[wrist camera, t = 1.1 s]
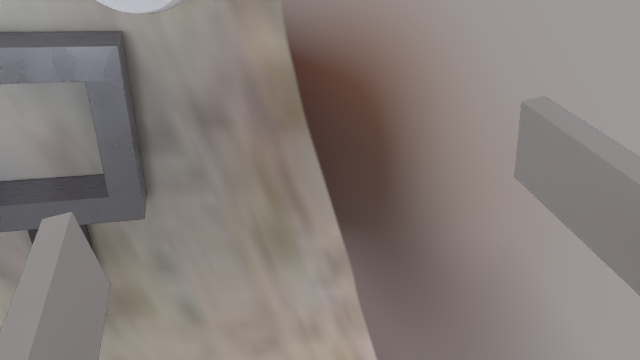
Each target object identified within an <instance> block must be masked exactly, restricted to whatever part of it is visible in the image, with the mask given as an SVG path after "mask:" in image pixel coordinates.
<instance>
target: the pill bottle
mask: <svg viewBox="0 0 640 360" xmlns="http://www.w3.org/2000/svg"><path fill="white" fill-rule="evenodd" d="M96 1H98V2H99V3H101V4H103V5H105V6H106V7H109V8H111V9H114V10H116V11H120V12H124V13H132V14H151V13H157V12H161V11H165V10H167V9H170V8H172V7H174V6H176V5H177V4H179V3H180V2H182V1H183V0H96Z"/></svg>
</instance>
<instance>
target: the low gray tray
mask: <svg viewBox="0 0 640 360" xmlns="http://www.w3.org/2000/svg"><path fill="white" fill-rule="evenodd" d="M81 81H86V86H87V91H88V96H89V101H90V106H91V111H92V116H93V121H94V126H95V131H96V136H97V141H98V146H99V151H100V156H101V161H102V166H103V171H104V175H90V176H75V177H61V178H47V179H33V180H19V181H5V182H0V232H8V231H19V230H28V232H29V235H30V239H31V242H32V245H33V242H34V240H35V237H36V234H37V232H38V229H39V226H40V224H41V221H42V219H44V218H48V217H52V216H57V215H61V214H65V213H69V212H72V213H73V215H74V217H75V219H76V221H77V222H78V224H79V226H80V228H81V230H82V232H83V234H84V236H85V237H86V239H87V241H88V243H89V245H90V247H91V249H92V246H91V242H90V238H89V233H88V229H87V225H86V224H95V223H106V222H117V221H128V220H139V219H145V209H146V198H147V193H146V187H145V180H144V174H143V167H142V160H141V154H140V147H139V141H138V134H137V127H136V121H135V114H134V108H133V101H132V94H131V88H130V81H129V75H128V68H127V61H126V55H125V48H124V42H123V35H122V31H80V32H0V84H15V83H48V82H81ZM92 251H93V250H92Z"/></svg>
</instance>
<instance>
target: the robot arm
mask: <svg viewBox="0 0 640 360" xmlns="http://www.w3.org/2000/svg"><path fill="white" fill-rule="evenodd" d="M514 177H515V178H516V179H517V180H518V181H519V182H520V183H521V184H522V185H523V186H524V187H525V188H526V189H527V190H528V191H529V192H530V193H531V194H533V195H534V196H535V197H536V198H537V199H538V200H539V201H540V202H541V203H542V204H543V205H544V206H545V207H546V208H547V209H548V210H550V211H551V212H552V213H553V214H554V215H555V216H556V217H557V218H558V219H559V220H560V221H561V222H562V223H563V224H564V225H565V226H567V227H568V228H569V229H570V230H571V231H572V232H573V233H574V234H575V235H576V236H577V237H578V238H579V239H580V240H581V241H582V242H583V243H585V244H586V245H587V246H588V247H589V248H590V249H591V250H592V251H593V252H594V253H595V254H596V255H597V256H598V257H599V258H600V259H601V260H602V261H604V262H605V263H606V264H607V265H608V266H609V267H610V268H611V269H612V270H613V271H614V272H615V273H616V274H617V275H618V276H619V277H621V278H622V279H623V280H624V281H625V282H626V283H627V284H628V285H629V286H630V287H631V288H632V289H633V290H634V291H635V292H636V293H638V294H639V295H640V156H638V155H637V154H635V153H634V152H632V151H630V150H629V149H627V148H626V147H624V146H623V145H621V144H619V143H618V142H616V141H615V140H613V139H612V138H610V137H609V136H607V135H605V134H604V133H602V132H601V131H599V130H598V129H596V128H594V127H593V126H591V125H590V124H588V123H587V122H585V121H584V120H582V119H581V118H579V117H578V116H576V115H574V114H573V113H571V112H570V111H568V110H567V109H565V108H564V107H562V106H560V105H559V104H557V103H556V102H554V101H552V100H551V99H550V98H548V97H546V96H541V97H537V98H533V99H529V100H525V101H522V102H521V112H520V122H519V131H518V141H517V151H516V161H515V172H514ZM109 289H110V282H109V280H108V279H107V277H106V275H105V273H104V271H103V269H102V267H101V265H100V264H99V262H98V260H97V258H96V256H95V254H94V252H93V251H92V249H91V247H90V245H89V243H88V241H87V239H86V237H85V236H84V234H83V232H82V230H81V228H80V226H79V224H78V222H77V221H76V219H75V217H74V215H73V213H72V212H69V213H65V214H61V215H57V216H52V217H48V218H44V219H42V221H41V224H40V226H39V229H38V232H37V234H36V237H35V240H34V242H33V245H32V248H31V250H30V253H29V256H28V258H27V261H26V264H25V267H24V269H23V272H22V275H21V277H20V280H19V283H18V285H17V288H16V291H15V293H14V296H13V299H12V301H11V304H10V307H9V309H8V312H7V315H6V317H5V320H4V323H3V325H2V328H1V331H0V360H98V359H99V353H100V347H101V340H102V334H103V327H104V321H105V315H106V308H107V302H108V295H109Z"/></svg>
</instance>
